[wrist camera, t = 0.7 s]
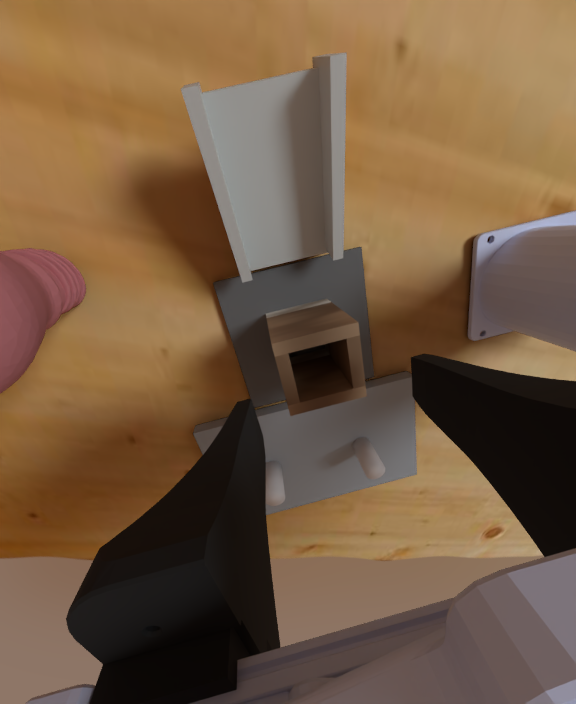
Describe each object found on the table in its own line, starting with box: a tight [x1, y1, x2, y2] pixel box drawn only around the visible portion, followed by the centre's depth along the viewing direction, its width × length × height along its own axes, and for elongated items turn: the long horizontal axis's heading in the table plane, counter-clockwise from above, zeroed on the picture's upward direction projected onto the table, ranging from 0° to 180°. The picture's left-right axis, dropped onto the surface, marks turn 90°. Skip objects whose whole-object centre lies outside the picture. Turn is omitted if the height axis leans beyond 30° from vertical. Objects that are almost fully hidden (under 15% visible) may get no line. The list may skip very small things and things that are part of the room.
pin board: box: [193, 371, 417, 515], centre depth 22 cm, size 18×11×4 cm, turn 103°
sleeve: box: [266, 299, 367, 416], centre depth 17 cm, size 4×4×6 cm
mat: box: [213, 247, 374, 408], centre depth 20 cm, size 10×10×1 cm
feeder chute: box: [181, 53, 346, 283], centre depth 13 cm, size 6×8×6 cm
